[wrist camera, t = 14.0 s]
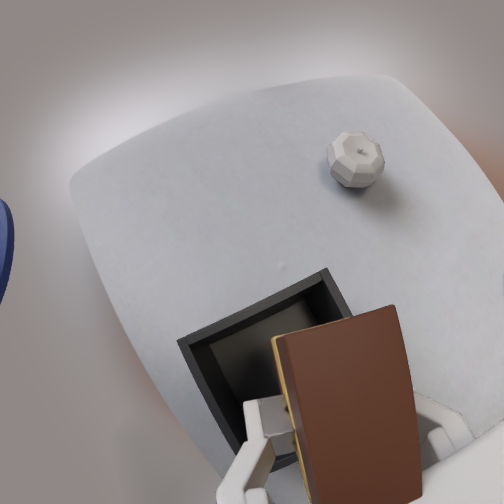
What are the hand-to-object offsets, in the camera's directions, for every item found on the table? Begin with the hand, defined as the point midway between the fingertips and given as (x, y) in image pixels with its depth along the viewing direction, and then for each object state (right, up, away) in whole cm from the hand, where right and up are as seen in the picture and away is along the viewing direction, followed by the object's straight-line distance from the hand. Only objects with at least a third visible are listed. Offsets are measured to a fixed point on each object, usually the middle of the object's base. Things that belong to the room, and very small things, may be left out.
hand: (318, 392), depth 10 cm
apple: (+11, +16, +29) cm, 35 cm away
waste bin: (+1, -8, +22) cm, 23 cm away
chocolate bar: (0, -2, +5) cm, 6 cm away
